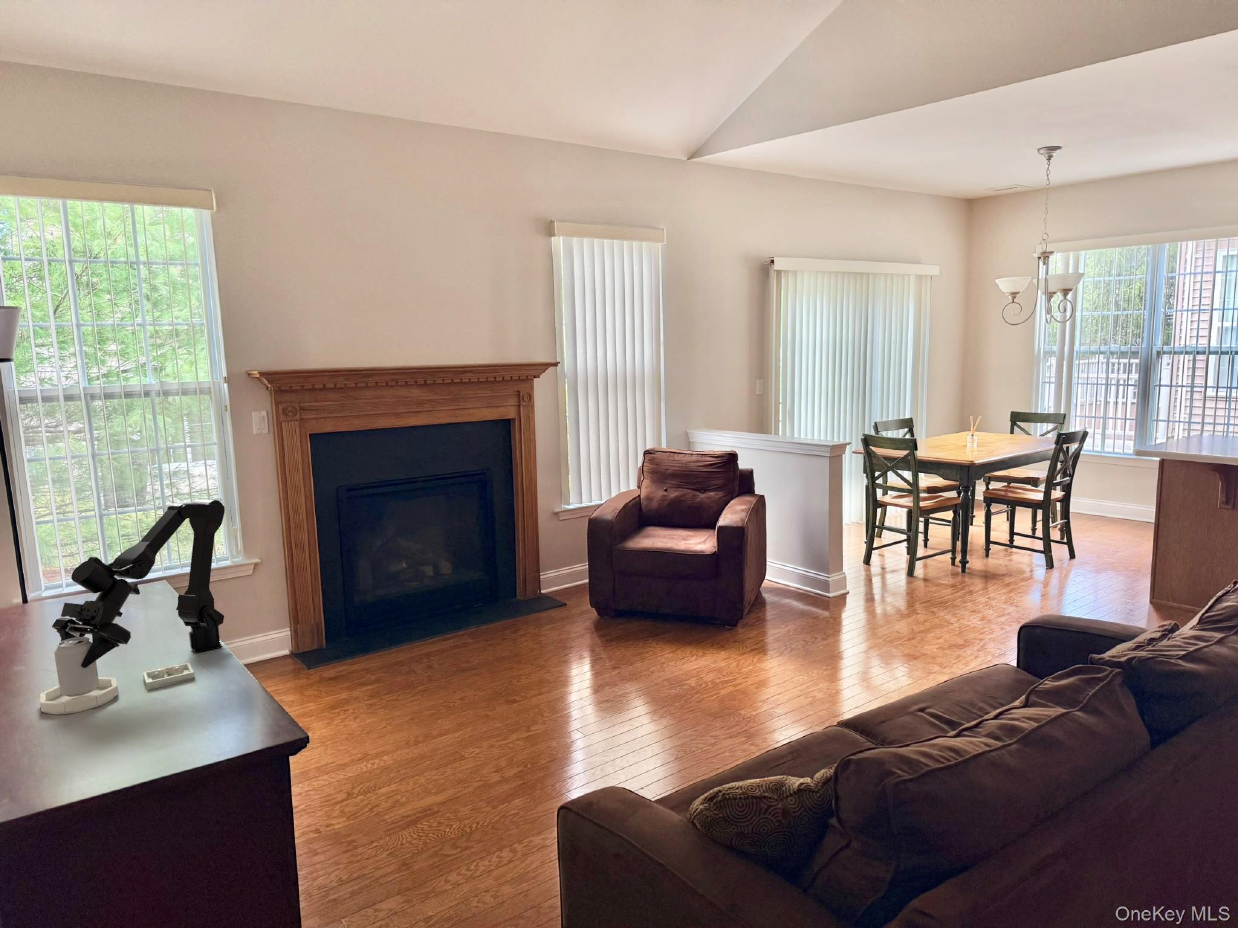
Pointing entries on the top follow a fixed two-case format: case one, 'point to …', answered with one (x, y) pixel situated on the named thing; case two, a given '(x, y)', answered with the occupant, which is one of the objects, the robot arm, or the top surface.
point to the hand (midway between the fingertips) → (70, 665)
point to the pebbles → (167, 672)
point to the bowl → (78, 698)
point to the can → (75, 667)
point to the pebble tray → (168, 677)
